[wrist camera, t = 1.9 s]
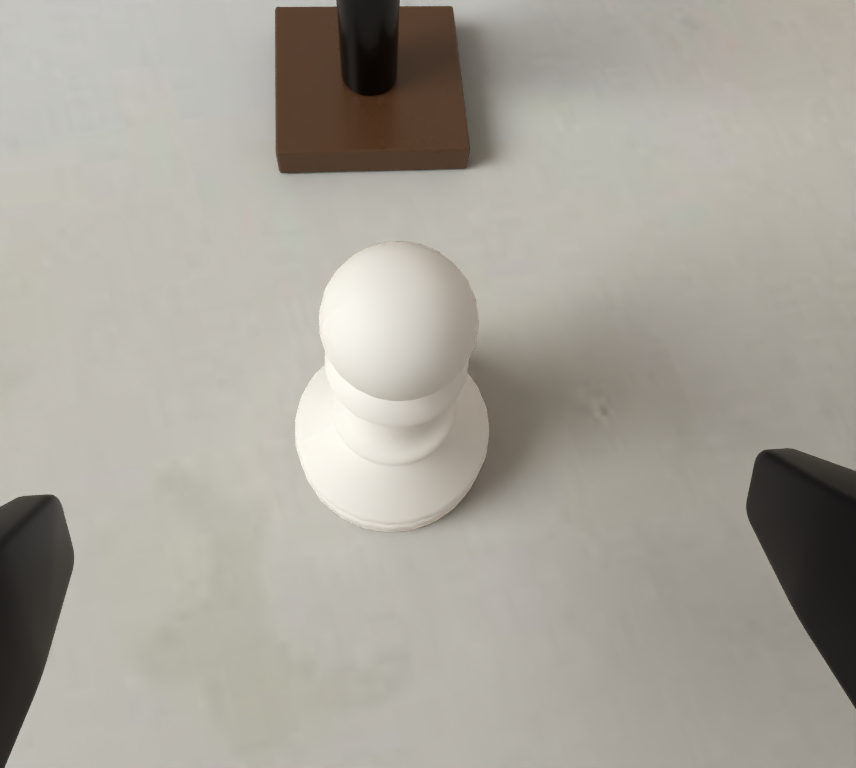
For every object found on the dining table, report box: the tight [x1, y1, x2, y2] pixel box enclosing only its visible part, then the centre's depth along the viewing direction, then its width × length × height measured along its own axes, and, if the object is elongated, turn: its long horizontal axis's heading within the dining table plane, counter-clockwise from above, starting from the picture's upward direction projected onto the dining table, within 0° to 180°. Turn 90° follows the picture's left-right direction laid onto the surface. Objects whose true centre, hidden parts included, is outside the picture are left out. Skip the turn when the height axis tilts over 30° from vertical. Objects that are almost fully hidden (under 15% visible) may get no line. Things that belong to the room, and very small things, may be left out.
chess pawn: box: [295, 241, 490, 532], centre depth 16 cm, size 5×5×9 cm
